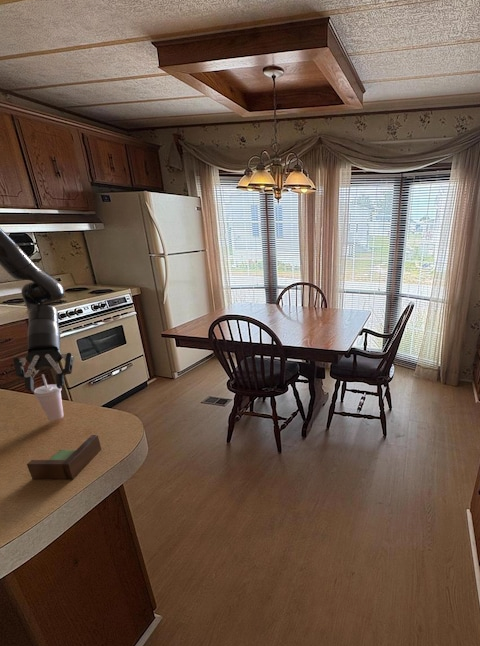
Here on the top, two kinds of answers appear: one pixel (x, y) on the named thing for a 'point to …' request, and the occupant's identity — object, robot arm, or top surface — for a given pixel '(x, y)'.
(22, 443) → the top surface
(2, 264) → the robot arm
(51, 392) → the smoothie
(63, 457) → the corner guide
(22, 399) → the top surface
